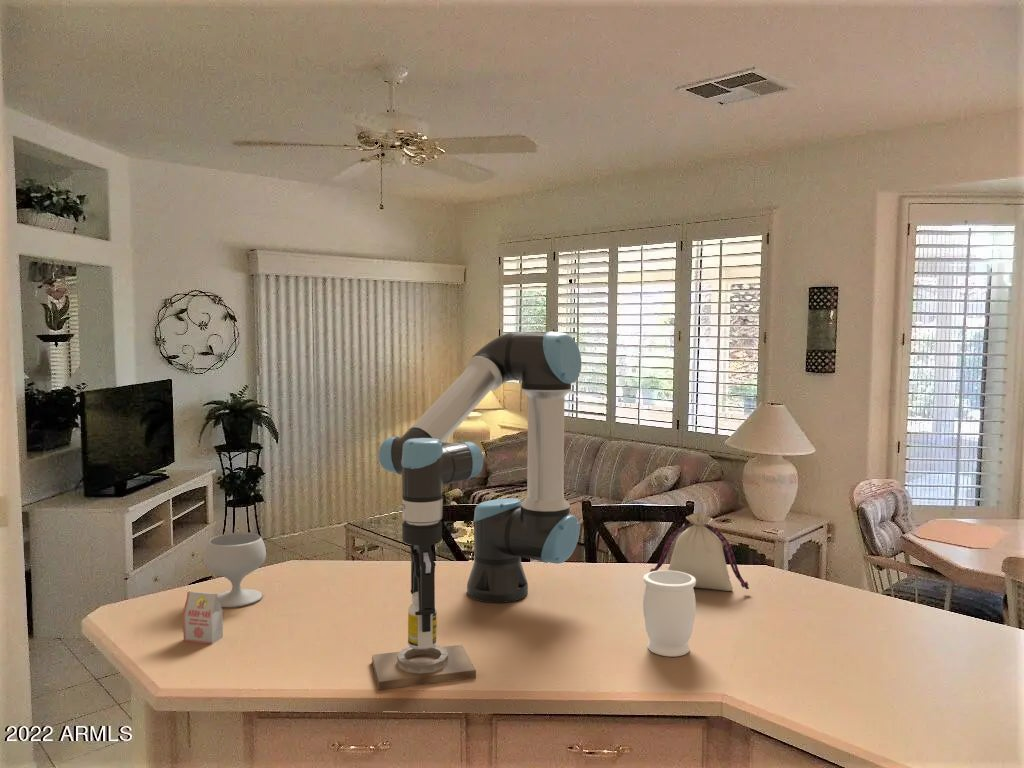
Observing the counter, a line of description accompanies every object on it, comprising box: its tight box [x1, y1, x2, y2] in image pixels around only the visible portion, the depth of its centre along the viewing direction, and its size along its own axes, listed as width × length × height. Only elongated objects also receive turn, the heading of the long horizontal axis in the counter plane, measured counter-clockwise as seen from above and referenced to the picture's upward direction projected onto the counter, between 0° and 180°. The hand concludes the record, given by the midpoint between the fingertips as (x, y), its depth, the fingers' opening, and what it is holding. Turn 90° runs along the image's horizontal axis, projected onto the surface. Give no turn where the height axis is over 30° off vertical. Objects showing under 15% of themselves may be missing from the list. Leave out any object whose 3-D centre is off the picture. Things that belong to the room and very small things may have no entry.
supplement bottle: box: [407, 592, 438, 649], centre depth 145 cm, size 5×5×10 cm
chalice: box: [203, 531, 267, 608], centre depth 182 cm, size 14×14×15 cm
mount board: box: [371, 644, 477, 691], centre depth 145 cm, size 18×12×3 cm, turn 106°
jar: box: [642, 569, 697, 658], centre depth 155 cm, size 11×10×15 cm
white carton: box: [182, 591, 224, 645], centre depth 159 cm, size 4×7×10 cm, turn 77°
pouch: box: [649, 512, 750, 592], centre depth 192 cm, size 25×8×19 cm, turn 72°
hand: (422, 640), depth 145 cm, fingers closed on supplement bottle, 5 cm apart
